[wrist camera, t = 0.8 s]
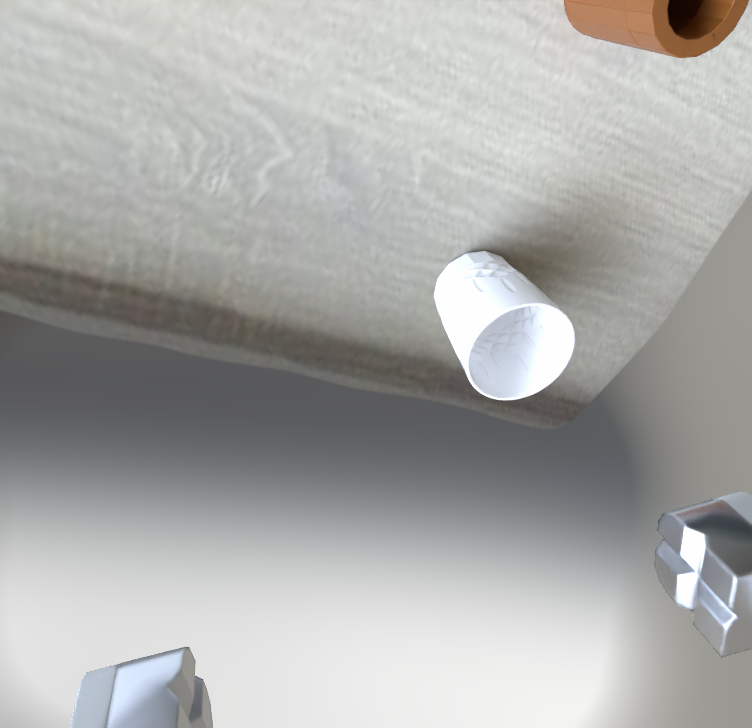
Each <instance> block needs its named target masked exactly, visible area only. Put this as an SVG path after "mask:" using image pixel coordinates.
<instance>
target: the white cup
mask: <svg viewBox="0 0 752 728" xmlns="http://www.w3.org/2000/svg"><path fill="white" fill-rule="evenodd" d="M434 298H435V302H436V306H437V310H438V313H439V315H440V317H441V319H442V322H443V325H444V327H445V330H446V332H447V334H448V336H449V339H450V341H451V343H452V346H453V348H454V350H455V352H456V354H457V356H458V358H459V360H460V362H461V364H462V366H463V368H464V370H465V372H466V375H467V377H468V379H469V381H470V383H471V384H472V385H473V387H474V388H475V389H476V390H477V391H478V392H480V393H481V394H483V395H485V396H487V397H490V398H493V399H498V400H515V399H520V398H524V397H527V396H530V395H532V394H534V393H537V392H538V391H540V390H542V389H544V388H545V387H547V386H548V385H549V384H551V383H552V382H553V381H554V380H555V379H556V378H557V377H558V376H559V375H560V374H561V373H562V372H563V370H564V369H565V367H566V366H567V364H568V363H569V361H570V359H571V356H572V354H573V351H574V346H575V331H574V327H573V324H572V322H571V320H570V319H569V317H568V316H567V315H566V314H565V313H564V312H563V311H562V310H561V309H560V308H559V307H558V306H556V305H555V304H554V303H553V302H552V301H551V300H550V299H549V298H548V297H547V296H546V295H545V294H544V293H543V292H542V291H541V290H540V289H539V288H537V287H536V286H535V285H534V284H533V283H532V282H530V281H529V280H528V279H527V278H526V277H525V276H524V275H523V274H521V273H520V272H519V271H517V270H516V269H514V268H513V267H511V266H510V265H509V264H508V263H507V262H506V261H505V260H504V259H503V258H502V257H501V256H499V255H496V254H493V253H490V252H487V251H479V252H472V253H466V254H464V255H462V256H461V257H459V258H457V259H456V260H454V261H452V262H451V263H449V264H448V266H447V267H446V268H445V270H444V271H443V272H442V274H441V275H440V276H439V277H438V280H437V284H436V288H435V292H434Z"/></svg>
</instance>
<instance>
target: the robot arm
mask: <svg viewBox="0 0 752 728" xmlns="http://www.w3.org/2000/svg"><path fill="white" fill-rule="evenodd" d="M657 531H658V532H659V534H660V535H661V536H662V537H663V538H664V539H663V540H662V542H661V543H660V544H659V546H658V547H657V548H656V550H655V561H654V565H655V568H656V572H657V575H658V578H659V581H660V583H661V584H662V586H663V588H664V589H665V591H666V593H667V594H668V595H669V596H670V598H671V599H672V600H673V601H674V603H675V604H677V605H679V606H682V607H684V608H686V609H688V610H690V611H692V612H693V625H694V626H695V627H696V629H697V630H698V631H699V632H700V633H701V634H702V636H703V637H704V638H705V639H706V640H707V641H708V643H709V644H710V645H711V646H712V647H713V649H714V650H715V651H716V652H717V653H718V654H719V656H720V657H721V658H722V657H726V656H729V655H732V654H736V653H740V652H743V651H747V650H750V649H752V495H751V494H748V493H746V492H743V491H741V492H737V493H734V494H730V495H727V496H723V497H719V498H716V499H714V500H708V501H704V502H701V503H698V504H694V505H691V506H687V507H684V508H680V509H677V510H673V511H670V512H666V513H664V514H662V516H661V517H660V519H659V520H658V529H657ZM70 728H213V722H212V713H211V704H210V700H209V696H208V692H207V688H206V686H205V683H204V681H203V679H201V678H199V677H197V676H195V659H194V657H193V655H192V652H191V650H190V648H189V647H184V648H179V649H175V650H171V651H167V652H163V653H159V654H155V655H151V656H147V657H143V658H139V659H135V660H131V661H128V662H123V663H121V664H117V665H114V666H109V667H106V668H102V669H98V670H94V671H90V672H87V673H86V675H85V676H84V678H83V680H82V681H81V683H80V686H79V691H78V695H77V699H76V703H75V707H74V712H73V716H72V720H71V724H70Z"/></svg>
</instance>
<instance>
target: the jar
mask: <svg viewBox="0 0 752 728" xmlns="http://www.w3.org/2000/svg"><path fill="white" fill-rule="evenodd" d="M748 1H749V0H564V5H565V10H566V14H567V17H568V19H569V21H570V22H571V24H572V25H573V27H574V28H575V29H576V30H578V31H579V32H580V33H582V34H584V35H587V36H591V37H593V38H596V39H601V40H605V41H609V42H613V43H618V44H622V45H626V46H630V47H635V48H639V49H643V50H647V51H652V52H656V53H660V54H664V55H669V56H673V57H677V58H687V57H697V56H699V55H701V54H703V53H705V52H707V51H709V50H711V49H713V48H714V47H716V46H718V45H719V44H720V43H721V42H722V41H723V40H724V39H725V38H726V37H727V36H728V35H729V34H730V33H731V32H732V31H733V30H734V28H735V27H736V25H737V23H738V21H739V20H740V18H741V16H742V14H743V13H744V11H745V9H746V6H747V5H748Z"/></svg>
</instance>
